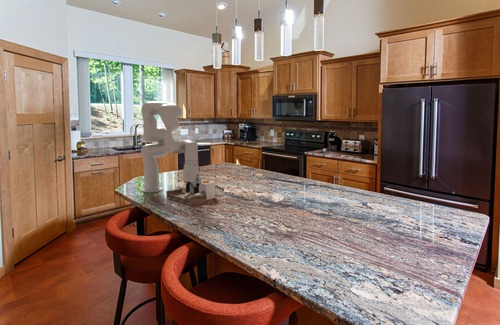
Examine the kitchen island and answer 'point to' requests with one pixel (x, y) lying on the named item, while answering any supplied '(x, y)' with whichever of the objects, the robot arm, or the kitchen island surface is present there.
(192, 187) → the square knob plate
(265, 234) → the kitchen island surface
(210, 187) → the white knob block
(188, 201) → the rail bed
